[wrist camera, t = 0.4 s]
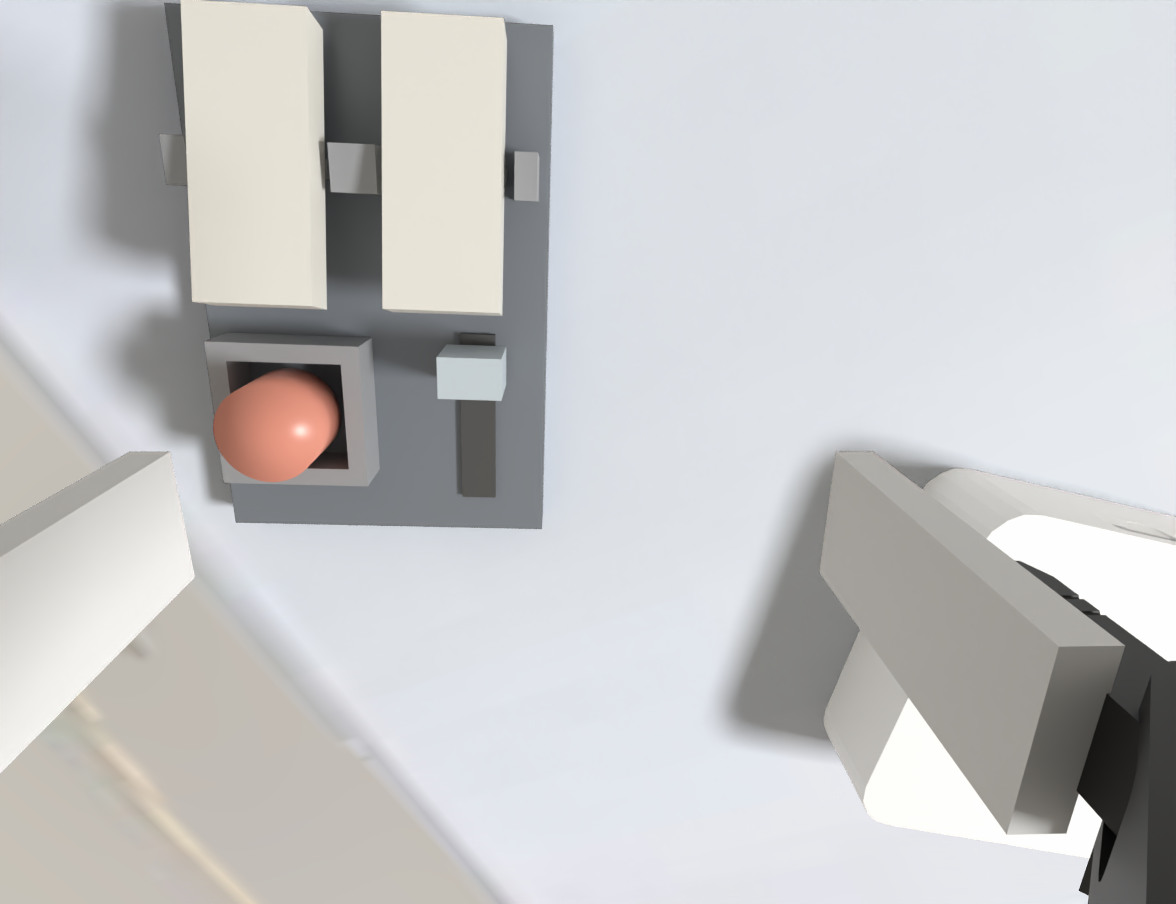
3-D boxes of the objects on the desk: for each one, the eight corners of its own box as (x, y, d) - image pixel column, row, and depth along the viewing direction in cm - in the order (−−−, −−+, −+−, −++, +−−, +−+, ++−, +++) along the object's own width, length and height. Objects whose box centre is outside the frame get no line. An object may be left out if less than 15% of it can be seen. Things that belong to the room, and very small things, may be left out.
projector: (1098, 787, 51) (1178, 872, 44) (811, 735, 48) (850, 818, 42) (1254, 533, 44) (1374, 590, 38) (930, 458, 41) (999, 505, 35)
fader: (446, 344, 35) (436, 357, 32) (506, 346, 35) (501, 359, 32) (447, 382, 36) (437, 399, 33) (506, 384, 36) (501, 400, 33)
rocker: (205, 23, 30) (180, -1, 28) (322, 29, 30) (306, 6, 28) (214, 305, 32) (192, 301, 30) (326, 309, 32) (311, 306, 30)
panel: (187, 15, 32) (123, -19, 28) (553, 35, 33) (552, 7, 28) (250, 507, 41) (210, 547, 36) (542, 514, 41) (540, 553, 37)
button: (241, 366, 34) (206, 383, 31) (337, 369, 34) (312, 387, 31) (252, 454, 36) (220, 480, 32) (344, 457, 36) (321, 483, 32)
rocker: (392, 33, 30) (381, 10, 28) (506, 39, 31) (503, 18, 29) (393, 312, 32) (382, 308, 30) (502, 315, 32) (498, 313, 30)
